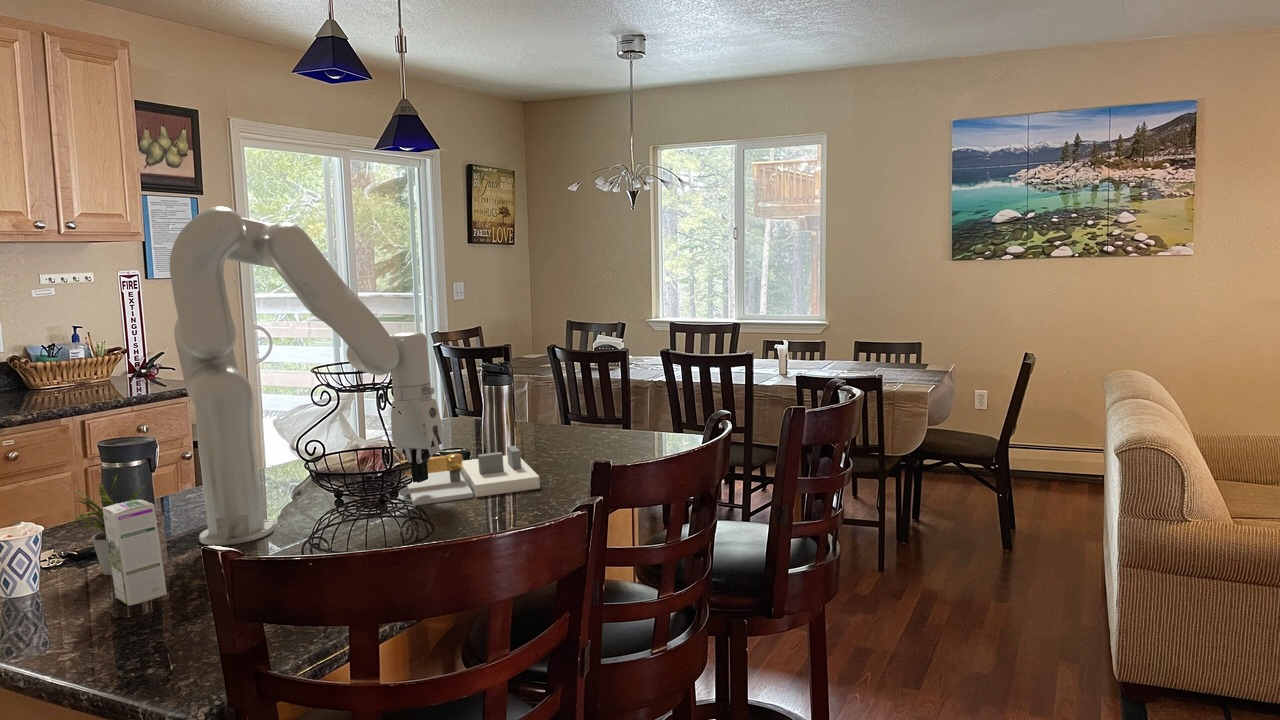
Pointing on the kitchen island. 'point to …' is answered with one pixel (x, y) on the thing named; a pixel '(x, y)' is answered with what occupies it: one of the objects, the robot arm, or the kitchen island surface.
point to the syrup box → (134, 551)
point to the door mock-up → (477, 479)
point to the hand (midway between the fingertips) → (420, 480)
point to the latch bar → (442, 463)
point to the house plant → (100, 526)
